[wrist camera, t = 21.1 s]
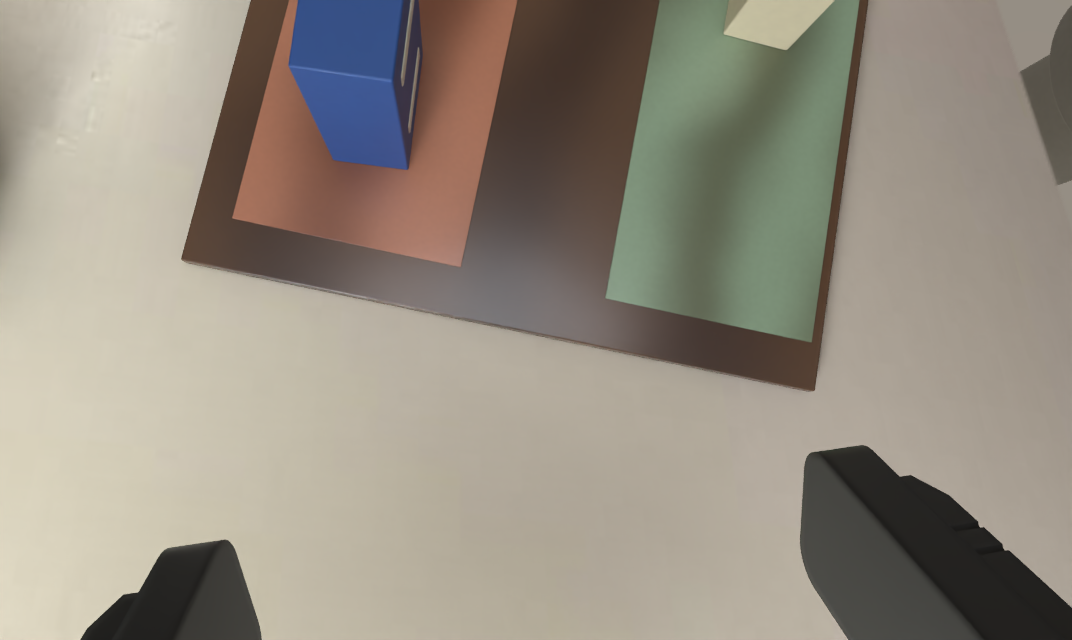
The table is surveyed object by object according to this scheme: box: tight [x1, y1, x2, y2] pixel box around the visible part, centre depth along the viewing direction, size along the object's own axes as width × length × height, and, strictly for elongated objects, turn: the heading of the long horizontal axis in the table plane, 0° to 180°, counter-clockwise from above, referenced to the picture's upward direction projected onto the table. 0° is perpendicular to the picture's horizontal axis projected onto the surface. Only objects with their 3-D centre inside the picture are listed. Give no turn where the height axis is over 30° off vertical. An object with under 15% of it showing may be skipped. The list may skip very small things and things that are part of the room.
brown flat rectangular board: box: [181, 0, 868, 391], centre depth 30 cm, size 26×20×1 cm
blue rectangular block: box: [288, 0, 423, 170], centre depth 25 cm, size 3×5×8 cm, turn 174°
